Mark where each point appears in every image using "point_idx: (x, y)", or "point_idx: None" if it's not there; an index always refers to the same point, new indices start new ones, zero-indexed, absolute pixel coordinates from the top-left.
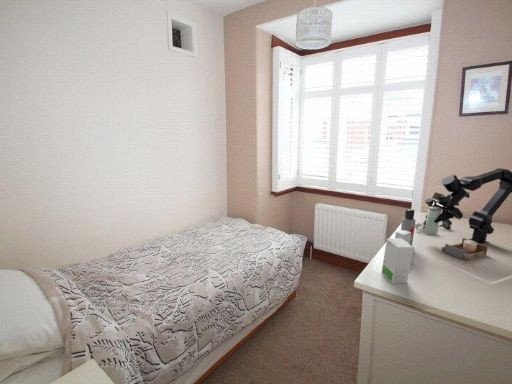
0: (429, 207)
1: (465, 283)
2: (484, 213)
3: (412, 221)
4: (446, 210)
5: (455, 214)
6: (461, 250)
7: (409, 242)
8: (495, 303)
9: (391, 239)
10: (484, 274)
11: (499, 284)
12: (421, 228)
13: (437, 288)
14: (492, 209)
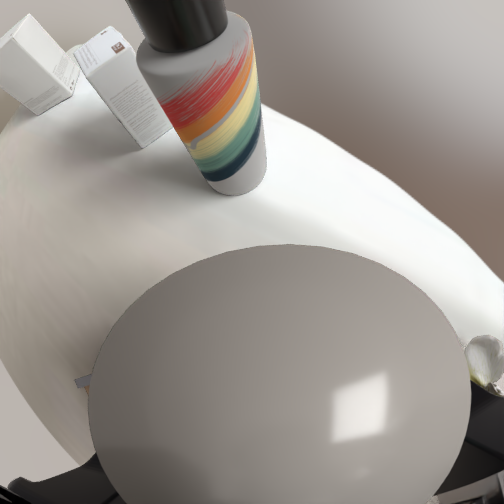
0: (339, 290)
1: (5, 258)
2: None
3: (137, 55)
4: (19, 484)
5: (14, 493)
6: (81, 377)
7: (109, 108)
8: None
9: (20, 21)
10: (34, 361)
11: (5, 351)
12: (470, 369)
13: (8, 174)
14: None
